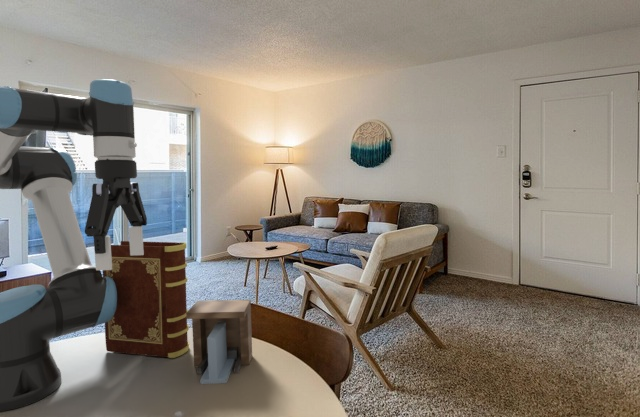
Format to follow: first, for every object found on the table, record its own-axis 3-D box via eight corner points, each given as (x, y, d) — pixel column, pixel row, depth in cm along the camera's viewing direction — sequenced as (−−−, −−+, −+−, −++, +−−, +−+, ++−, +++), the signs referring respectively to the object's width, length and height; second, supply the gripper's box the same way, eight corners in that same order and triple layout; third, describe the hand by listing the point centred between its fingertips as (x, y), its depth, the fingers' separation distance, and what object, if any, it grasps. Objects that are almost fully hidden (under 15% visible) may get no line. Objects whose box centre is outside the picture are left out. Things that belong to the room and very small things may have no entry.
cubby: (189, 374, 93) (186, 312, 92) (200, 357, 102) (197, 300, 100) (246, 373, 93) (244, 311, 92) (252, 355, 102) (250, 299, 101)
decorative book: (193, 346, 108) (190, 242, 106) (177, 359, 100) (173, 246, 99) (125, 340, 113) (122, 240, 111) (105, 352, 105) (100, 244, 104)
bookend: (200, 383, 89) (198, 338, 88) (211, 362, 99) (210, 321, 98) (226, 383, 89) (224, 337, 88) (234, 362, 99) (233, 321, 98)
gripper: (100, 155, 65) (107, 277, 67) (158, 161, 90) (163, 249, 92) (55, 156, 65) (64, 278, 67) (127, 162, 90) (132, 250, 91)
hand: (122, 261), depth 79 cm, fingers open, 13 cm apart
